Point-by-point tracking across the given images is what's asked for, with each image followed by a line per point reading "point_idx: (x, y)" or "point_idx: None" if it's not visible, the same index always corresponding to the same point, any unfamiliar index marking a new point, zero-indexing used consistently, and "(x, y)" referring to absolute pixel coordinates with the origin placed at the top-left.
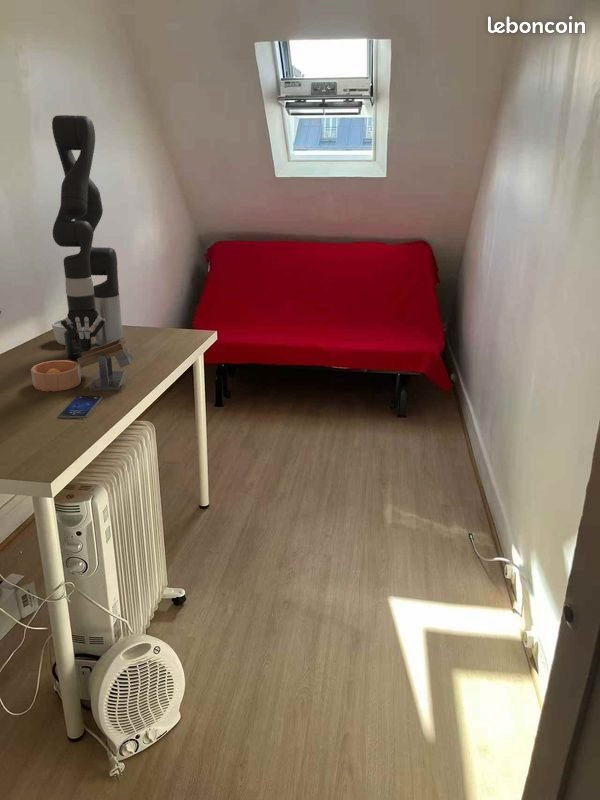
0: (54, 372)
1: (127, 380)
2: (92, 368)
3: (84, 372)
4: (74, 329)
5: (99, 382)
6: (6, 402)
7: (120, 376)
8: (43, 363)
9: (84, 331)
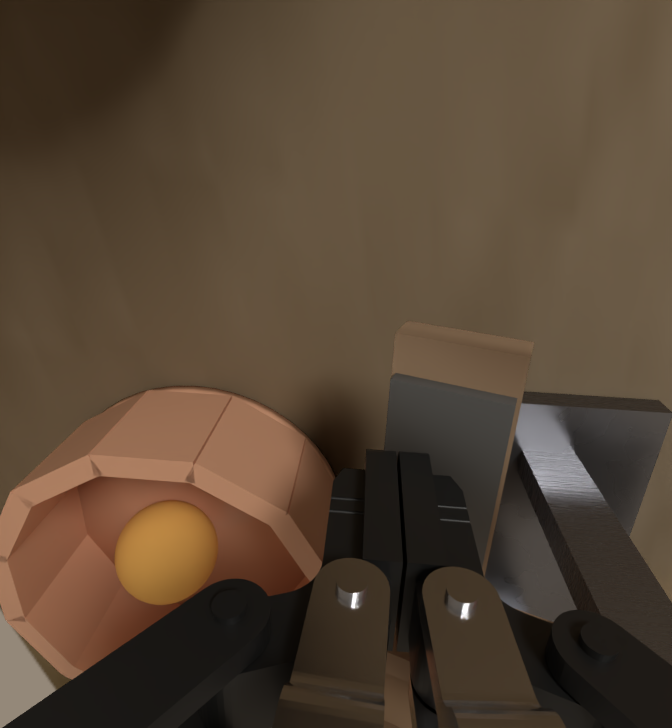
0: (174, 602)
1: (653, 523)
2: (396, 212)
3: (340, 313)
4: (174, 714)
5: None
6: (49, 680)
7: (620, 522)
8: (30, 510)
9: (385, 652)
